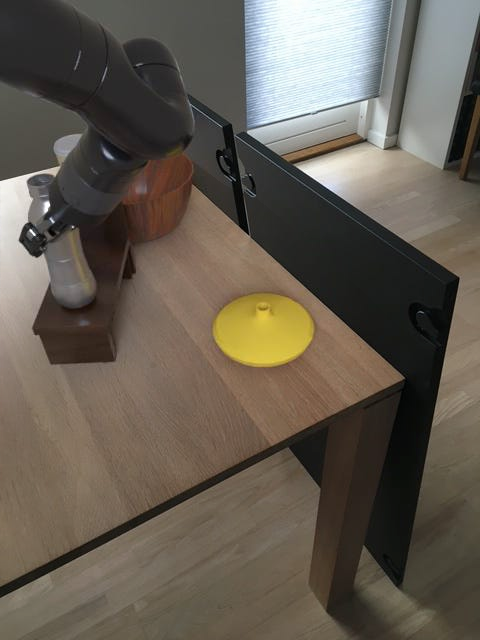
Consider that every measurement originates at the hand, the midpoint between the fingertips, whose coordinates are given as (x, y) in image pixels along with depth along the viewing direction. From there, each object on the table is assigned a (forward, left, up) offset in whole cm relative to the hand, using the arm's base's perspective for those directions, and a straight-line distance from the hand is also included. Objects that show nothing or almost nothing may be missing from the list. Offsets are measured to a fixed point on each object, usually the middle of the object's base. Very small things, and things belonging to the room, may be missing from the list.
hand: (52, 239), depth 76 cm
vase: (+21, -21, -18) cm, 35 cm away
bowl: (+25, +23, -18) cm, 39 cm away
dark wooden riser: (+4, +3, -18) cm, 19 cm away
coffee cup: (+23, +43, -18) cm, 52 cm away
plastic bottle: (0, -2, -10) cm, 11 cm away
